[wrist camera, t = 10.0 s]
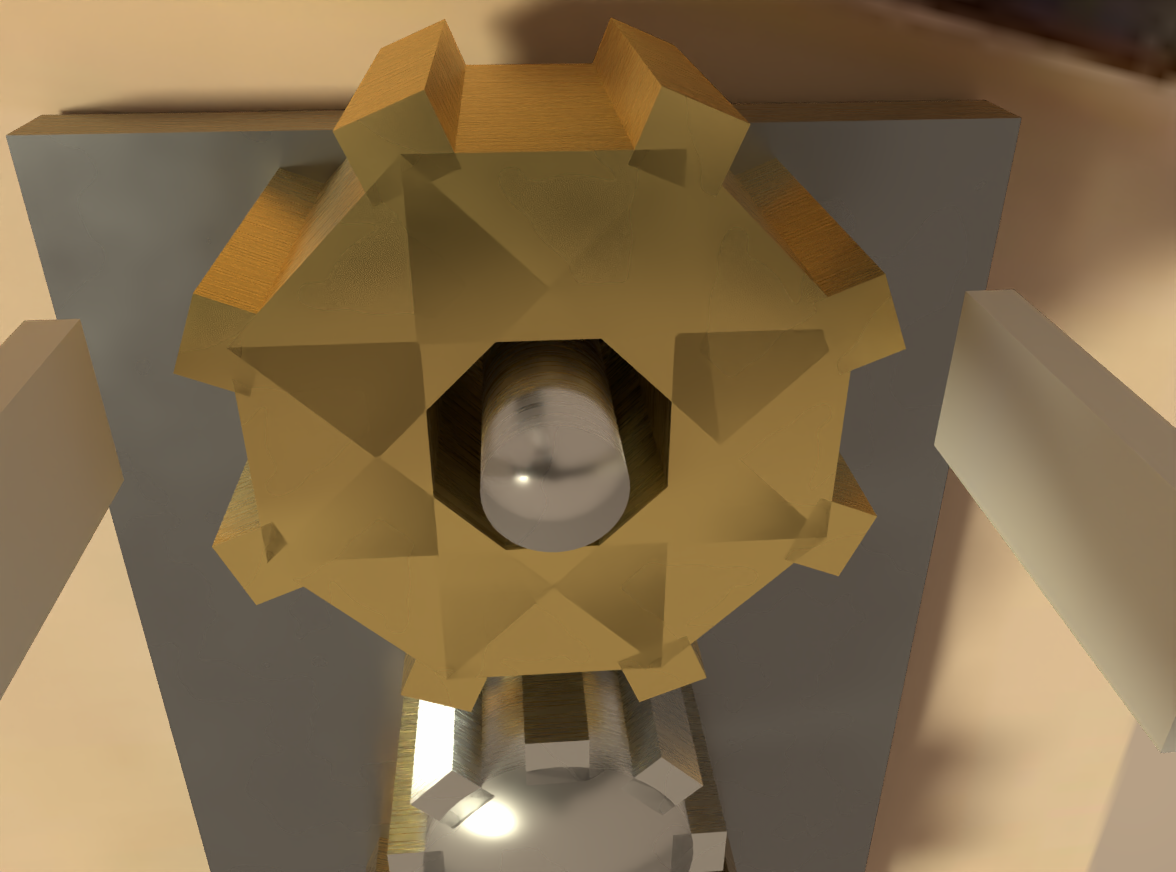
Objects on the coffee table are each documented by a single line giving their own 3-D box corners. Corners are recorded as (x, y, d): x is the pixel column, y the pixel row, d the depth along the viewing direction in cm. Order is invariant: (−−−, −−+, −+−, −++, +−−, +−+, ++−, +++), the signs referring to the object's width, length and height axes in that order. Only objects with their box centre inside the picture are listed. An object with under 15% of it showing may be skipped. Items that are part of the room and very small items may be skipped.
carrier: (41, 114, 19) (-256, 284, 11) (984, 99, 20) (1276, 243, 13) (252, 929, 31) (175, 1274, 23) (836, 887, 32) (940, 1201, 24)
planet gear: (229, 20, 17) (111, 93, 12) (815, 15, 17) (952, 81, 12) (309, 516, 22) (251, 724, 16) (764, 496, 22) (847, 689, 17)
